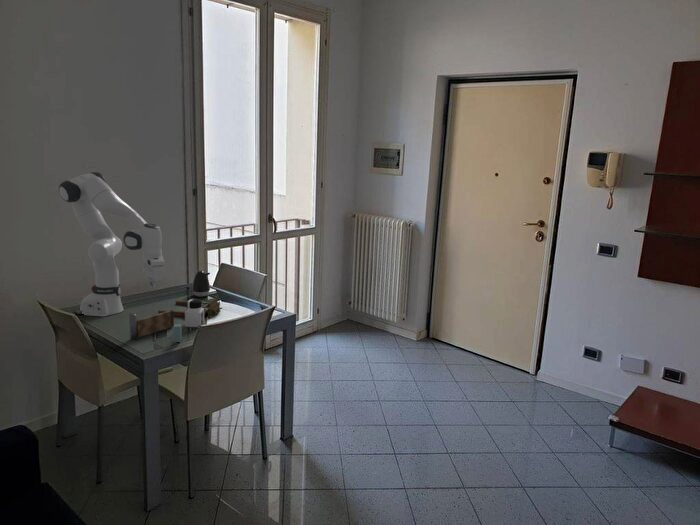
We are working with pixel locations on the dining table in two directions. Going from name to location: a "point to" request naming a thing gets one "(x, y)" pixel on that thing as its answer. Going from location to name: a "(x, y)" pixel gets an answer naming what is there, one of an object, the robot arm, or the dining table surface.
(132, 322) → the hinge post
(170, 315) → the gate
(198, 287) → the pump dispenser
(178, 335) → the latch post
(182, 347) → the dining table surface
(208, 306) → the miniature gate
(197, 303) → the container
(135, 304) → the dining table surface
